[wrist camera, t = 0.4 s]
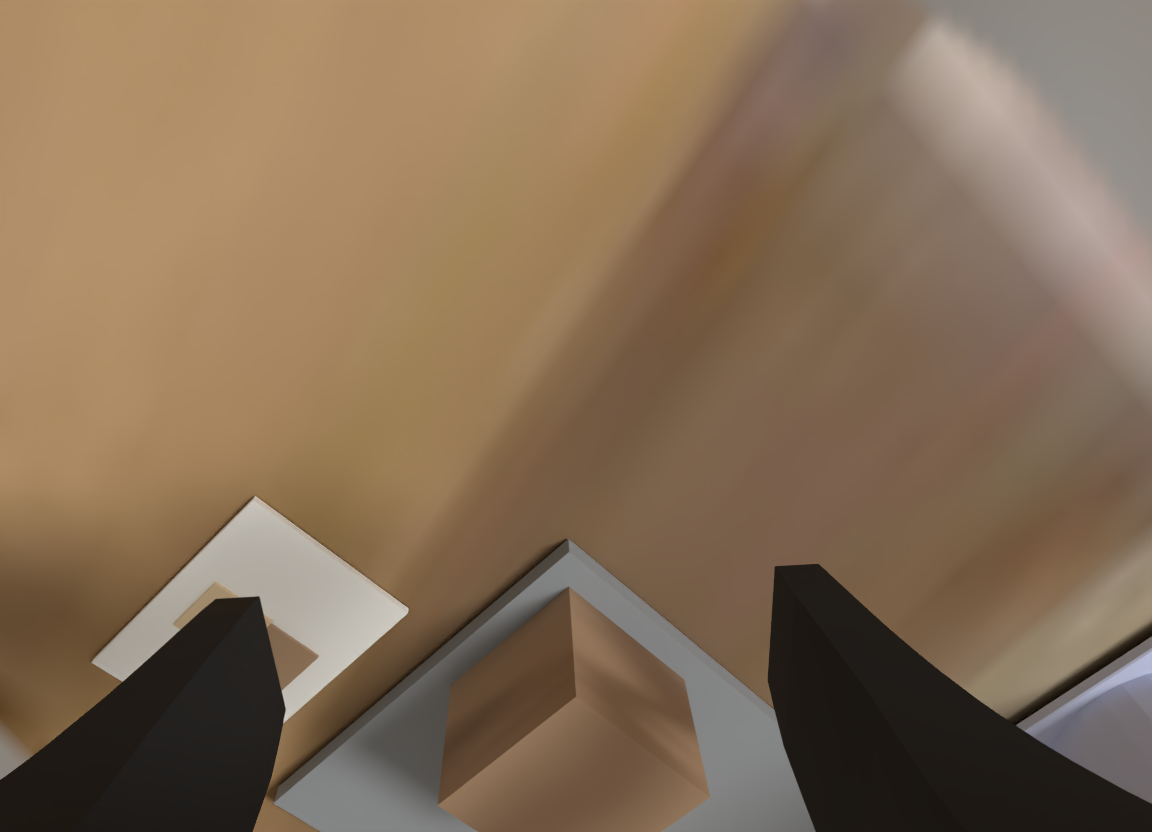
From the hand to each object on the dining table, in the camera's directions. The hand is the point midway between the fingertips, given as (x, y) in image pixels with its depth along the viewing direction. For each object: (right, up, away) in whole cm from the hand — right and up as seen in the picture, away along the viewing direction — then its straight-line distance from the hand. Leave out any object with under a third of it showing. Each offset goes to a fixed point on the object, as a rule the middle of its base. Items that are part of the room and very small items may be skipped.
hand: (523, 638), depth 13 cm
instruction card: (-8, -3, +12) cm, 14 cm away
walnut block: (+1, -4, +12) cm, 13 cm away
